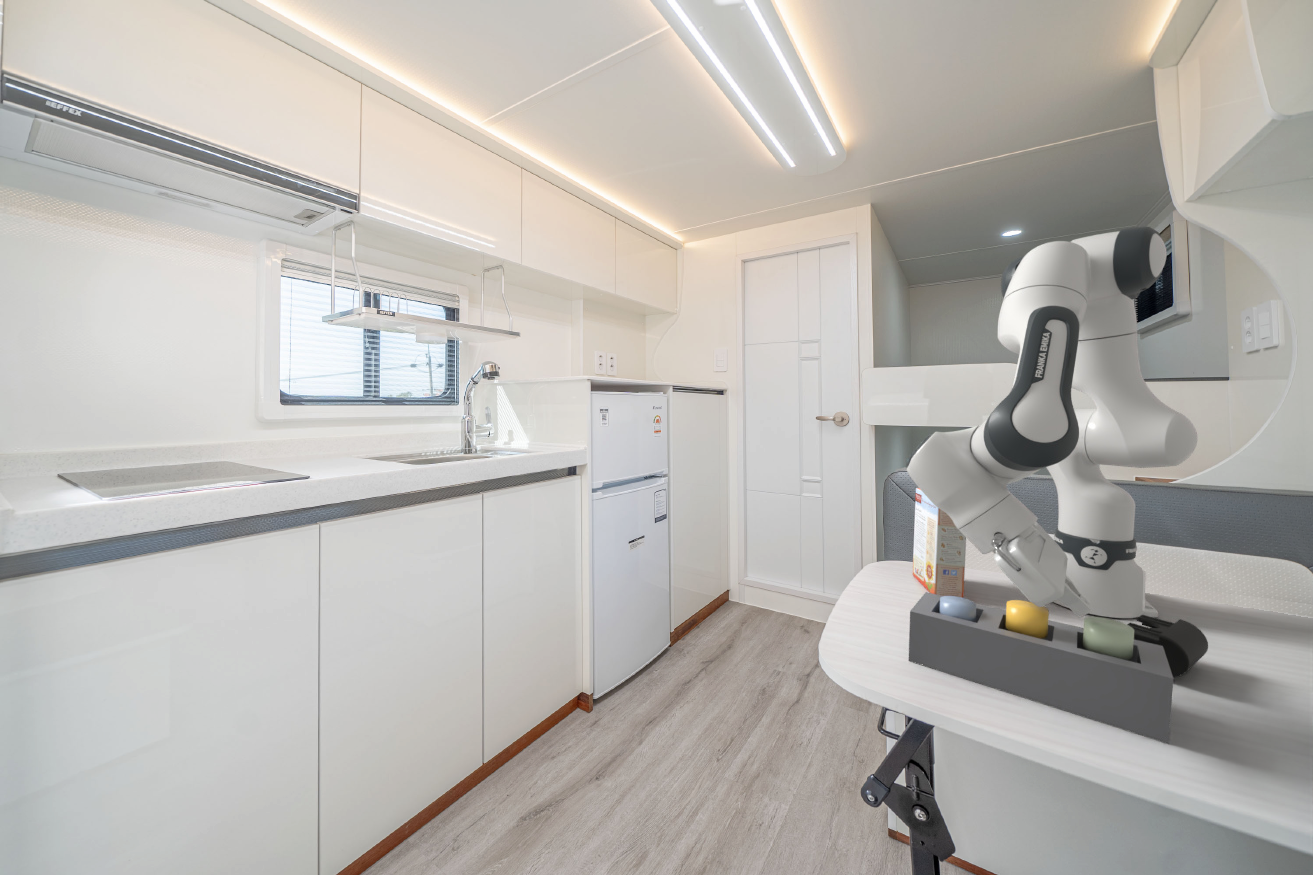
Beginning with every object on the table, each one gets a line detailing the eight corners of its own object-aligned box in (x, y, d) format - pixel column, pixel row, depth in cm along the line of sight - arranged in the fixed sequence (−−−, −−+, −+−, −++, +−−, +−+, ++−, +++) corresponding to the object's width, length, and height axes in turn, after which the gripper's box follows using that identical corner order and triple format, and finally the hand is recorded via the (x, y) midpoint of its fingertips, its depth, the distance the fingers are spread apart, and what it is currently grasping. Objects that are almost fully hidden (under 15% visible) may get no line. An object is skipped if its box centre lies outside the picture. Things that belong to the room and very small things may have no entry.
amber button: (1007, 619, 72) (1008, 597, 72) (1048, 629, 69) (1049, 606, 69) (1003, 631, 69) (1004, 607, 69) (1046, 642, 66) (1047, 617, 65)
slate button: (942, 614, 78) (943, 593, 78) (977, 622, 75) (978, 601, 75) (936, 624, 75) (936, 602, 74) (972, 634, 71) (973, 611, 71)
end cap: (1187, 690, 67) (1190, 643, 67) (1119, 666, 73) (1121, 623, 73) (1207, 670, 72) (1210, 626, 72) (1142, 649, 78) (1144, 609, 78)
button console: (924, 637, 83) (925, 591, 82) (1158, 703, 64) (1162, 645, 63) (908, 660, 75) (910, 610, 75) (1168, 743, 57) (1173, 678, 56)
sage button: (1082, 637, 67) (1084, 613, 67) (1131, 649, 64) (1132, 623, 63) (1082, 651, 63) (1084, 625, 63) (1134, 664, 60) (1135, 637, 60)
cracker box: (965, 601, 98) (969, 499, 96) (933, 598, 99) (936, 498, 97) (939, 576, 111) (943, 487, 110) (911, 575, 112) (914, 486, 111)
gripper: (1011, 528, 61) (1113, 626, 55) (1026, 503, 76) (1106, 578, 70) (969, 555, 64) (1060, 651, 58) (991, 526, 79) (1065, 599, 74)
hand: (1085, 611), depth 65 cm, fingers closed
